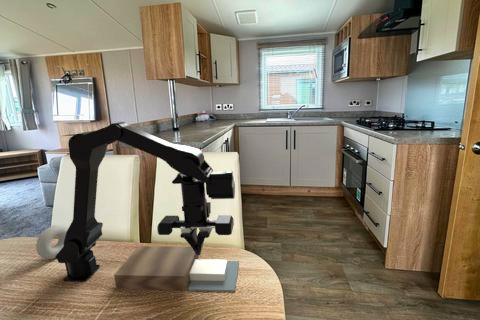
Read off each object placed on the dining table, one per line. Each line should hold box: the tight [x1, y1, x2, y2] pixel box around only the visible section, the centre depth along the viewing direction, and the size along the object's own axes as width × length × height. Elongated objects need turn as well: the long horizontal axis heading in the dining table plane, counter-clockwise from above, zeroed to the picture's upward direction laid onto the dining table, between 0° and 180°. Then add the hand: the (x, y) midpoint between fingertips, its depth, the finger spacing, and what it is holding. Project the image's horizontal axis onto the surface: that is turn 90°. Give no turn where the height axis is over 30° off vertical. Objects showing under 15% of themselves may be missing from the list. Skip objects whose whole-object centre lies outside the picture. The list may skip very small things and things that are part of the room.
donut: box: [35, 224, 68, 260], centre depth 79 cm, size 10×4×10 cm, turn 162°
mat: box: [187, 260, 240, 293], centre depth 68 cm, size 12×12×1 cm
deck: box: [113, 245, 200, 291], centre depth 70 cm, size 18×13×4 cm
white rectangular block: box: [189, 258, 228, 281], centre depth 68 cm, size 9×6×2 cm, turn 85°
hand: (199, 254), depth 68 cm, fingers closed
